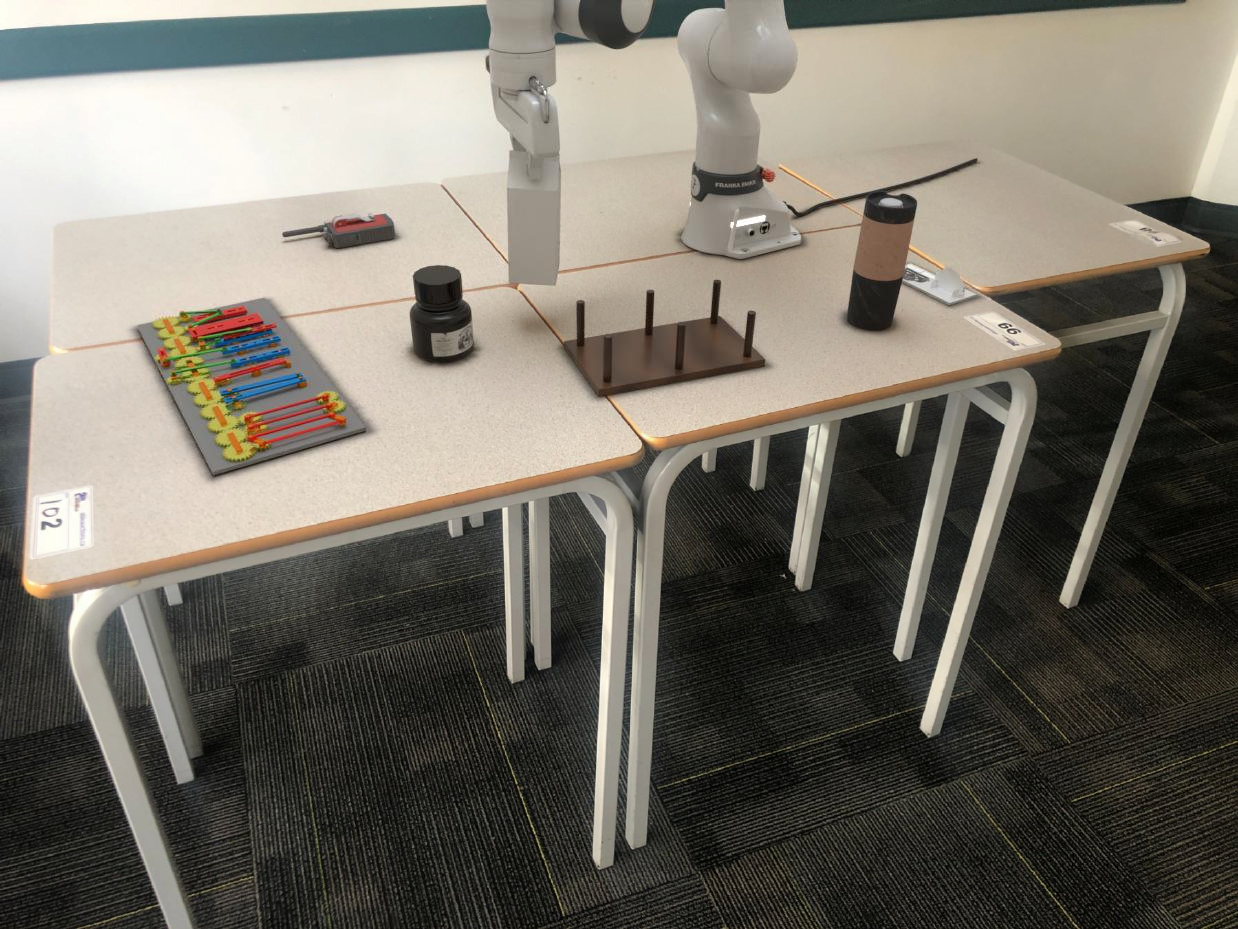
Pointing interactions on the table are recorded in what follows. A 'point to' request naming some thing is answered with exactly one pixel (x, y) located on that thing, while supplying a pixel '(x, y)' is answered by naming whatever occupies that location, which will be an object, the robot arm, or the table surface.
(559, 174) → the milk carton
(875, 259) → the travel mug
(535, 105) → the robot arm
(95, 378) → the table surface
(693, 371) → the peg rack
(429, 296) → the ink bottle
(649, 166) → the table surface
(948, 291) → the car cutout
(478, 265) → the table surface
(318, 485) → the table surface
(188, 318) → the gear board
